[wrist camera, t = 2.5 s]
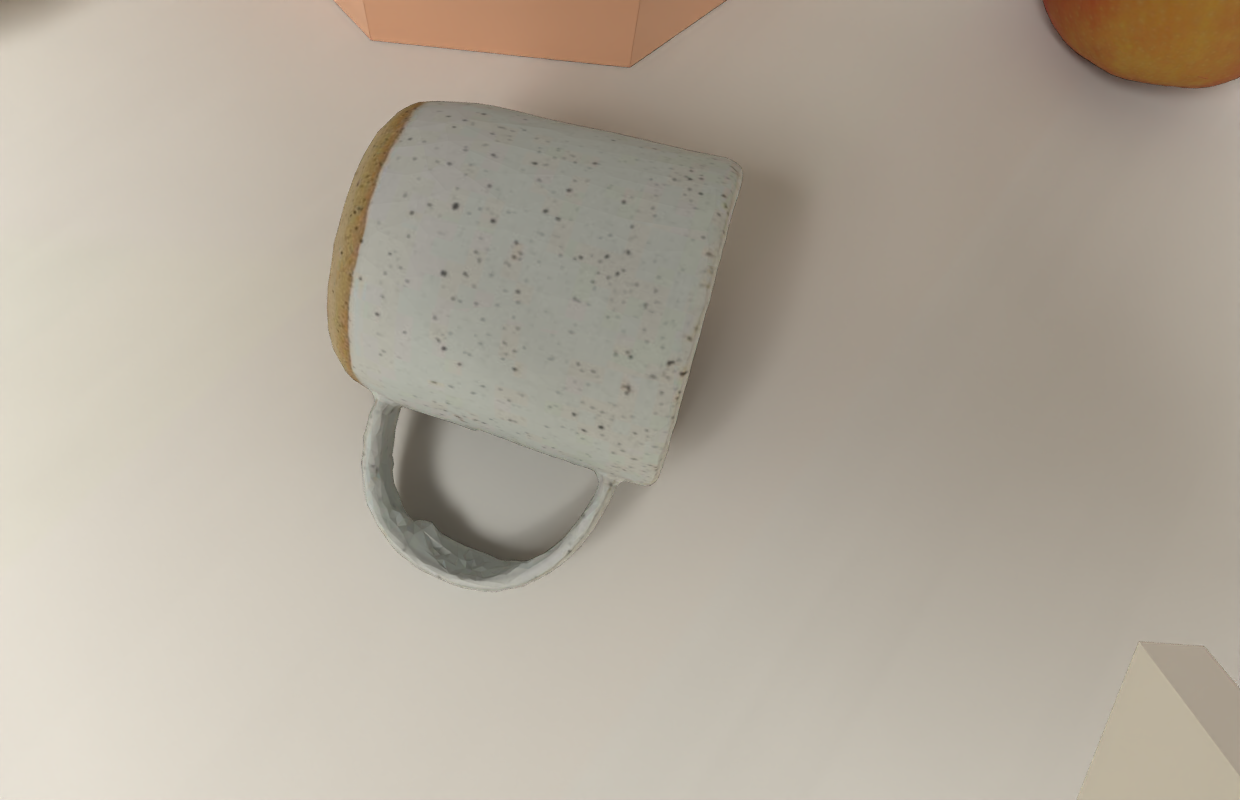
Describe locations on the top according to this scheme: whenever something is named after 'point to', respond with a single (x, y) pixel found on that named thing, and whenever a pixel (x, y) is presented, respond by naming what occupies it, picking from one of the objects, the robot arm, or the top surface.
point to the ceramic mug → (523, 301)
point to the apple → (1154, 38)
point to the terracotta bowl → (532, 25)
